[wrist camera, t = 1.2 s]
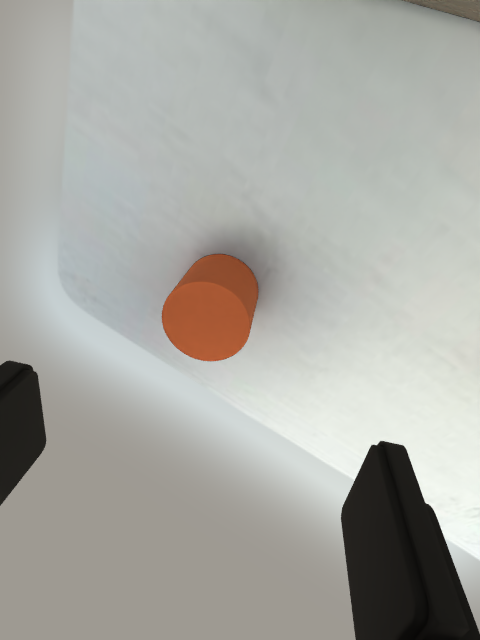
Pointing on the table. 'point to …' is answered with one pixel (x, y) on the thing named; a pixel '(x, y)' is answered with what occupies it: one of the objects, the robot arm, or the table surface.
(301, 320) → the table surface
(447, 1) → the back board
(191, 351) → the orange cylinder
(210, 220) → the table surface
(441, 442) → the table surface
